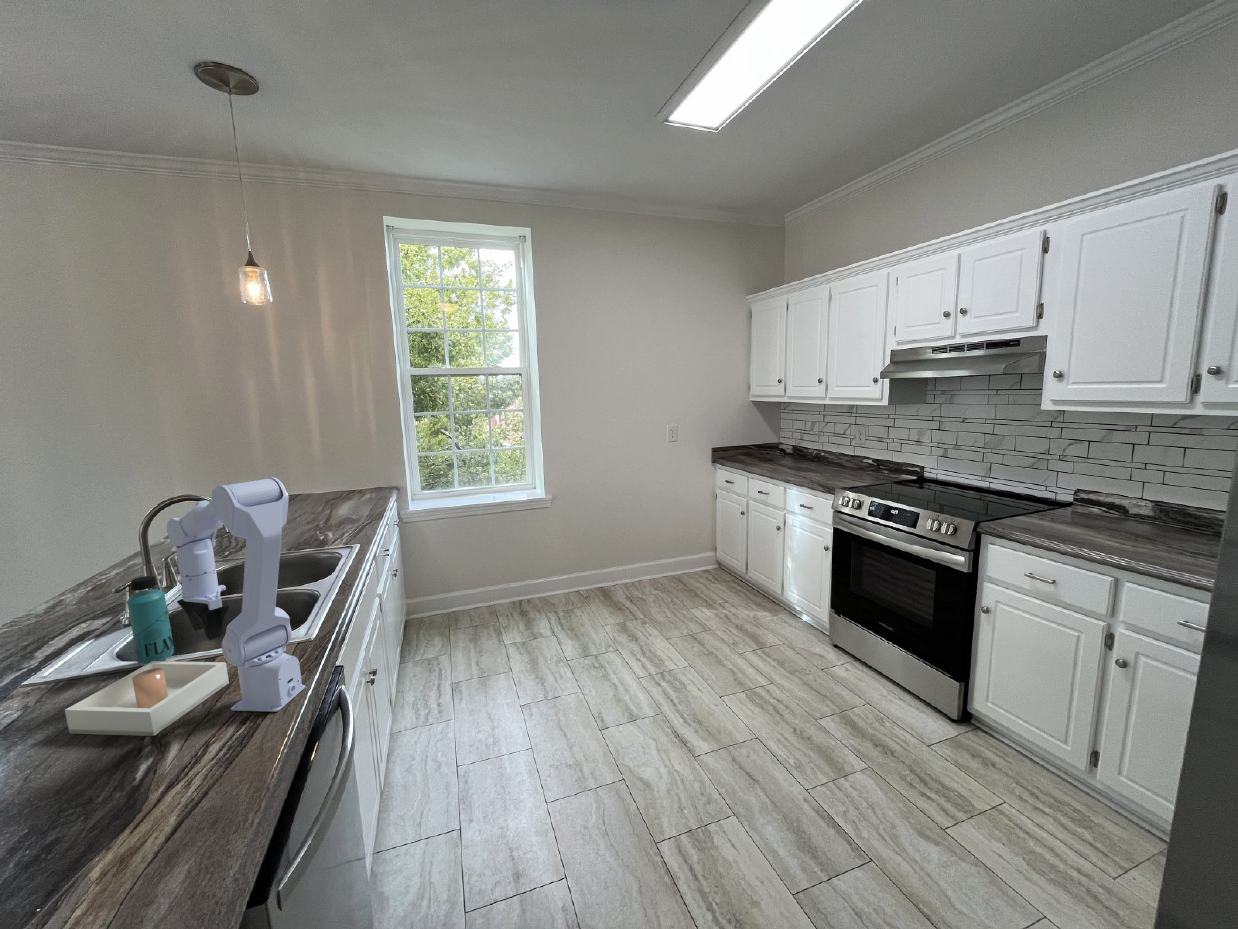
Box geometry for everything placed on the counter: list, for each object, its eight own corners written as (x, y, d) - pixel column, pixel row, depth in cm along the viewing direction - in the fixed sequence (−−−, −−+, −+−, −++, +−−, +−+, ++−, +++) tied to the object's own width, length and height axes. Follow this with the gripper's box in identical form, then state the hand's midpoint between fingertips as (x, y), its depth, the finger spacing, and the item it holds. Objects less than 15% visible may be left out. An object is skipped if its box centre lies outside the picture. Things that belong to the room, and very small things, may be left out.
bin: (228, 683, 104) (225, 662, 104) (154, 736, 89) (149, 712, 88) (156, 681, 105) (152, 661, 105) (69, 733, 90) (64, 710, 89)
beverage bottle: (143, 674, 108) (127, 585, 105) (132, 665, 112) (117, 579, 109) (181, 660, 114) (167, 575, 111) (170, 652, 117) (156, 570, 114)
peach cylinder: (168, 703, 96) (163, 675, 95) (136, 713, 94) (131, 684, 93) (168, 693, 100) (164, 665, 99) (138, 702, 97) (133, 673, 96)
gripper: (235, 572, 103) (244, 634, 106) (208, 560, 111) (216, 617, 113) (192, 583, 98) (202, 648, 100) (167, 569, 106) (177, 630, 108)
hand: (207, 633), depth 106 cm, fingers open, 7 cm apart
